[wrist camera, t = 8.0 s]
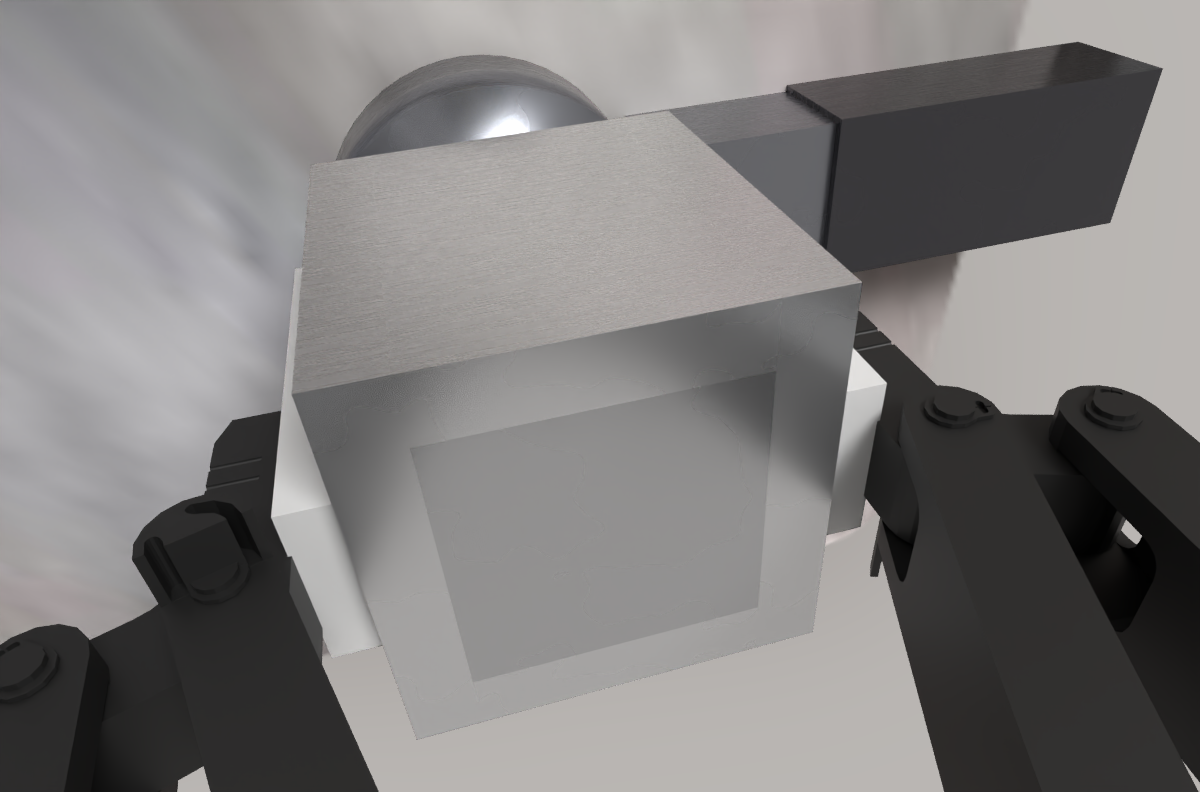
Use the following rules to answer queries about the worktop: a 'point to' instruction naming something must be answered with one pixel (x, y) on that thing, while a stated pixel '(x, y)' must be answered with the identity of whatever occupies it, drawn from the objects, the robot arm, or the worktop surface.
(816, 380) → the brushed cube with inset
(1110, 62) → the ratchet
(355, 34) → the worktop surface
